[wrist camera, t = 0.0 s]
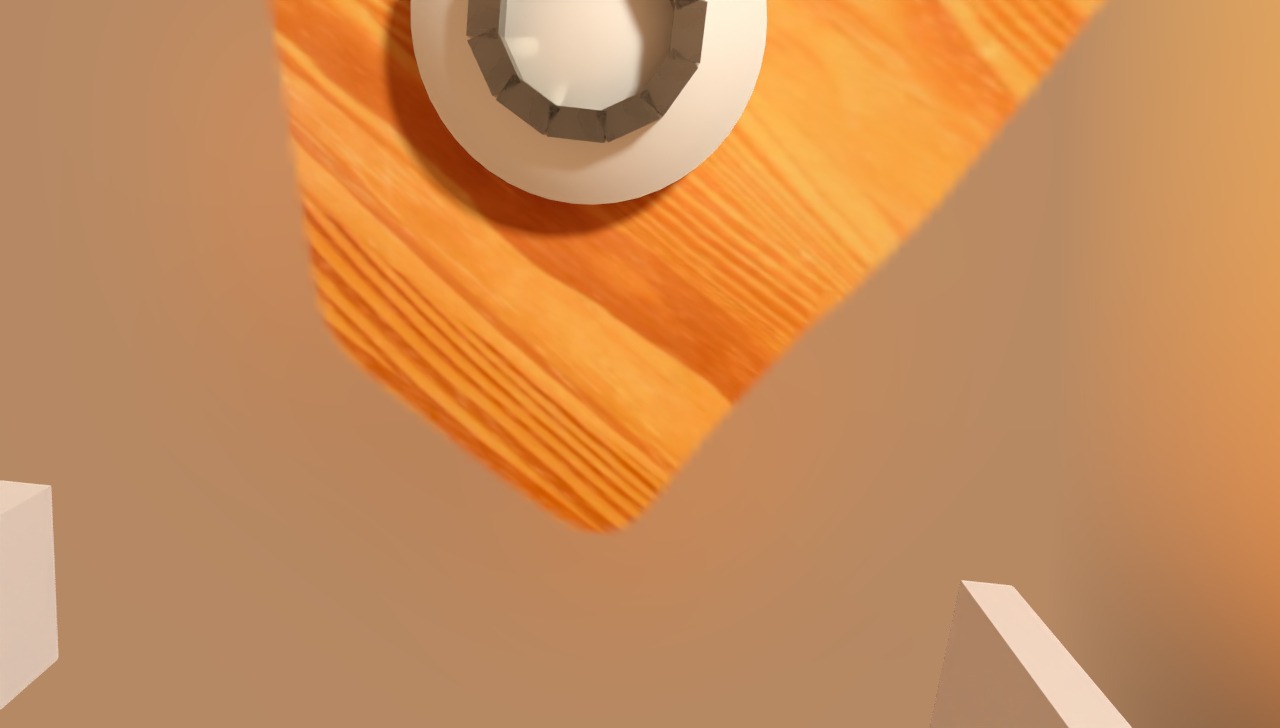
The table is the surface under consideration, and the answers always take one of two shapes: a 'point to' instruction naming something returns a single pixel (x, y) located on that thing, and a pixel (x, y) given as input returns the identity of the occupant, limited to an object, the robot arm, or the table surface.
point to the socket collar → (578, 122)
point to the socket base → (590, 90)
